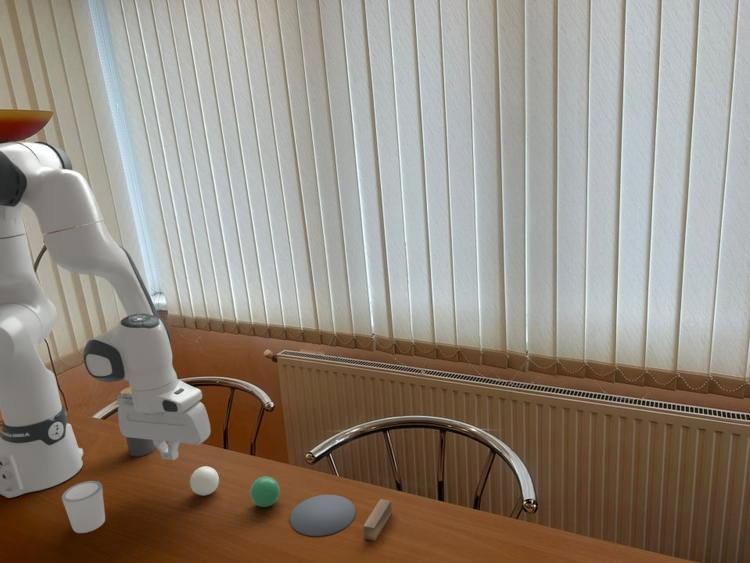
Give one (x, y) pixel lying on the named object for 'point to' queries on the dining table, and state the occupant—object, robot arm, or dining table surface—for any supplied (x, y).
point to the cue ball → (204, 480)
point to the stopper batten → (377, 519)
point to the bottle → (138, 441)
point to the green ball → (264, 491)
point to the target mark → (322, 515)
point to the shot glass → (85, 506)
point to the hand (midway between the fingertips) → (170, 457)
